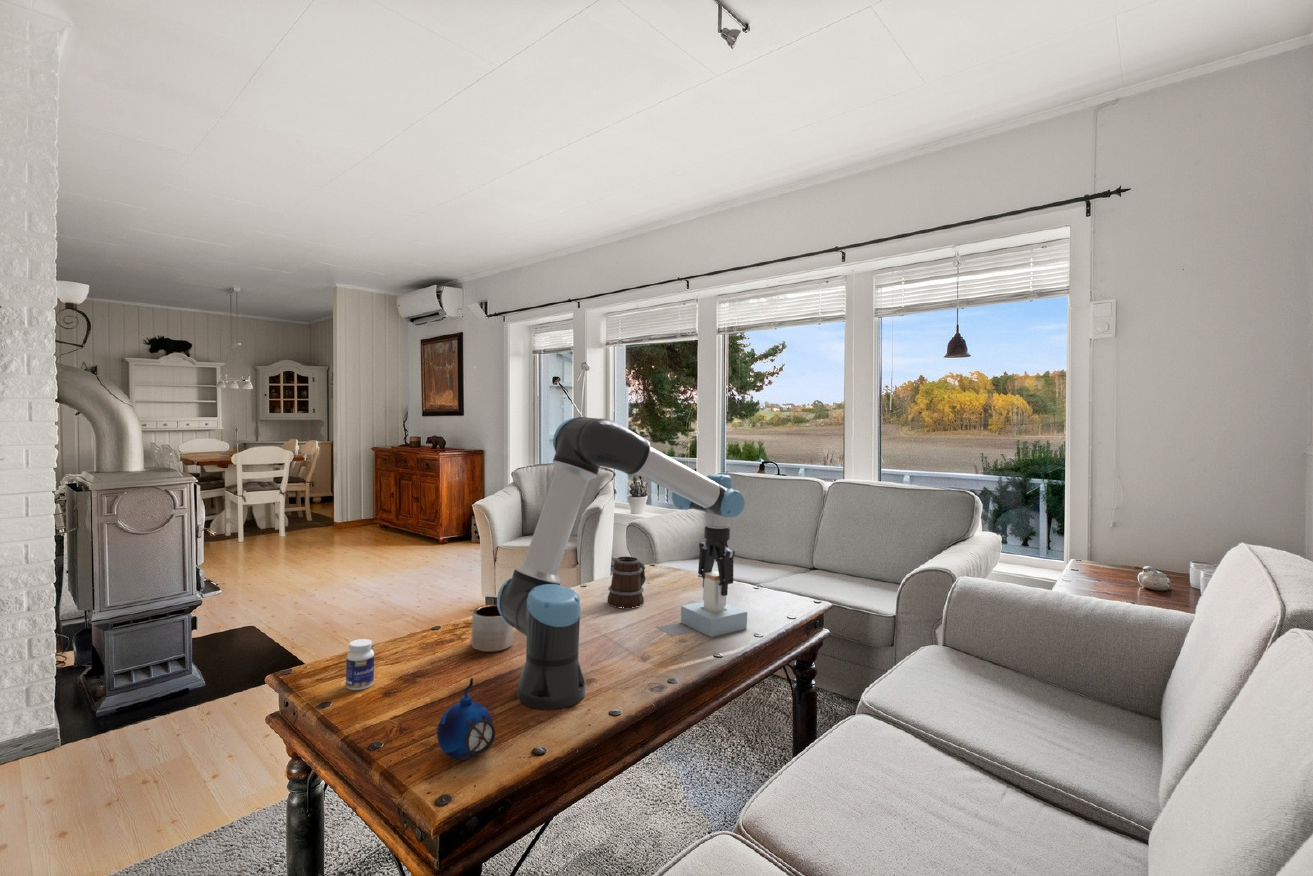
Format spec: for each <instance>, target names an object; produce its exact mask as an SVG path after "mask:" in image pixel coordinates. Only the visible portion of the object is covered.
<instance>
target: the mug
mask: <svg viewBox="0 0 1313 876" xmlns="http://www.w3.org/2000/svg"><path fill="white" fill-rule="evenodd" d="M610 570H611V572H612V577H611V584H610V586H609V587H608V591H609V593H608V595H607V604H608V605H609V604H610V605H613V606H616V607H615V608H617V607H622V608H621V609H626V608H631V609H633V608H632V607H636V606H640V605H641V604H642V605H643V604H644V601H645V598H644V595H643V592H644V588H643V586H644V584H645V582H646V578H647V577H646V576H645V575H646V574H645V570H646V566H645V565H644V563H643V562H642V561H640V560H639V559H638V557H634V556H618V557H616V558H615V560H614V563H613V566H612V567H611V569H610ZM610 605H609V606H610ZM642 605H641V606H642ZM613 606H612V607H613ZM641 606H640V607H641ZM623 607H624V608H623ZM636 608H637V607H636Z"/></svg>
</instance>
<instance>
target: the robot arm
mask: <svg viewBox="0 0 1313 876" xmlns="http://www.w3.org/2000/svg"><path fill="white" fill-rule="evenodd" d="M552 445H553V448H554V452H555V453H554V456H553V459H552V464H553V465H554V468H555V473H554V475H553V478H552V481H551V484H550V486H549V490H548V493H547V496H546V498H545V501H544V504H543V507H542V510H541V512H540V515H539V518H538V521H537V524H536V525H535V530H534V531H533V535H532V538H531V541H530V544H529V547H528V550H527V553H526V555H525V558H524V561H523V562H522V564H519V565H518V566H516V567H515V568H514V571H513V573H512V576H511V577H509V579H507V580H505V581H504V582H503V583H502V585H501V586H500V588H499V590H498V592H497V595H496V596H497V597H496V605H497V607H498V610H499V613H500V615H501V616H502V617H503V618H504V620H505V621H506V622H507V623H508V624H509V625H511V626H512V627H513V629H515V630H517V631H518V632H519V633H520V634H522V635H524V637H526V649H525V650H526V653H525V655H526V656H525V663H524V665H523V669H522V671H521V674H520V677H519V680H518V683H517V687H516V688H517V689H516V690H517V691H516V697H517V700H518V701H519V702H520V703H521V704H523V706H524V705H525V706H527V707H530V708H533V709H538V710H539V709H540V710H557V709H558V710H559V709H564V708H567V707H571V706H573V705H575V704H577V703H579V702H580V701H582V700H583V698H584V697H585V696H586V681H585V678H584V674H583V670H582V667H581V663H580V661H579V654H580V653H579V649H580V648H579V647H580V645H579V644H580V620H581V619H580V618H581V613H582V611H581V603H580V602H581V601H580V599H581V598H580V596H579V594H578V593H577V592H576V591H575V590H574V589H572V588H571V587H568V586H567V585H566V586H565V585H561V582H562V581H561V579H560V577H559V574H558V572H559V569H560V566H561V564H562V563H561V562H562V560H563V559H564V558H563V557H564V554H565V551H566V548H567V546H568V542H569V539H570V537H571V533H572V531H573V527H574V525H575V522H576V519H577V516H578V514H579V510H580V507H581V504H582V501H583V499H584V496H585V493H586V490H587V487H588V483H589V482H590V480H593V479H595V478H596V477H597V476H598V474H599V471H600V468H608V469H613V470H617V471H620V472H622V473H624V474H627V475H629V476H633V475H638V476H640V477H641V478H643V479H645V480H647V481H649V482H652V483H654V484H656V485H658V486H660V487H662V488H664V489H666V490H668V491H669V492H671V501H672V503H673V505H674V507H675V508H676V509H678V510H686V511H688V510H695V511H700V512H704V513H705V515H704V524H705V526H704V539H705V541H704V542H699V543H698V547H699V556H698V557H699V558H698V560H699V561H698V568H697V569H698V571H697V573H698V575H699V576H701V577H702V589H703V591H702V594H703V595H702V600H703V601H704V589H705V573H708V572H713V568H714V564H715V562H716V565H717V570H718V571H717V572H719V578H720V583H719V584H718V601H717V606H718V607H721V606H726V603H727V596H728V589H729V587H728V586H729V585H732V584H734V556H735V553H736V551H735V550H734V549H732V550H731V549H730V548H729V545H728V541H729V540H730V536H731V528H730V525H731V518H734V519H735V518H737V517H739V516H740V515H741V514H742V512H743V510H744V508H745V498H744V495H743V494H742V492H740V491H739V490H736V489H733V486H732V485H733V484H732V483H733V481H732V477H731V475H729V474H725V473H724V474H723V473H710V474H707V476H705V475H703V474H701V473H700V472H698V471H695V470H694V469H692V468H690V467H689V466H687V465H685V464H683V463H681V462H680V461H677V460H676V459H674V458H672V457H671V456H668V454H667V455H666V454H665V453H663V452H661V451H659V450H658V449H656V448H654V447H652V446H651V443H650V442H649V440H648V439H646V438H645V437H643V436H641V435H639V434H637V433H636V432H634V431H632V430H631V429H630V428H627V427H625V426H624V425H622V424H620V423H618V422H616V421H614V420H611V419H608V418H602V417H601V418H594V417H586V416H577V417H572V418H569V419H566V420H565V421H563V422H562V423H561V424H560V425H559V426H558V427H557V428H556V429H555V432H554V435H553V439H552Z"/></svg>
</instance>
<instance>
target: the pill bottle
mask: <svg viewBox="0 0 1313 876" xmlns="http://www.w3.org/2000/svg"><path fill="white" fill-rule="evenodd" d="M372 647H373V641H372V640H371V639H369V638H368V639H367V638H359V639H355V640H352V641H350V642H349V644H348V650H349V652H347V655H346V661H345V662H346V665H345V666H346V667H345V669H346V670H345V687H346V689H348V690H351V691H362V690H365V689H368V688H370V687H371V686H373V685H374V682H375V681H374V678H375V652H374V650H373V649H372Z"/></svg>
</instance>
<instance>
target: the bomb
mask: <svg viewBox="0 0 1313 876" xmlns="http://www.w3.org/2000/svg"><path fill="white" fill-rule="evenodd" d="M469 680H470V681H469V684H468V686H466V687H465V690H464V695H462V696H461V698H459V701H458V702H457V703H455V704H453V705H452V706H450V707H449V708H448V709H447V710H446V711H444V713H443V715H442V716H441V717H440V720H439V722H438V724H437V728H436V729H437V730H436V739H437V742H438V745H439V748H440V750H441V751H442V752H443V754H445V755H446V756H447V757H449V758H452V759H453V760H457V761H458V760H459V761H465V760H466V761H467V760H469V759H473V758H475V757H477V756H479V755H481V754H483V753H485V752H486V751H487V750H488V749H489V748H490V747H491V746H492V744H493V743H494V741H495V739H496V732H497V731H496V729H495V726H494V723H493V718H492V715H491V713H490V712H489V710H488V709H487V708H486V706H484V705H483V704H482V703H479V702H478V701H474V700H473V698H472V696H471V695H468V693H469V689H471V688H472V686H473V684H474V678H473V677H470V679H469Z"/></svg>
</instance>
